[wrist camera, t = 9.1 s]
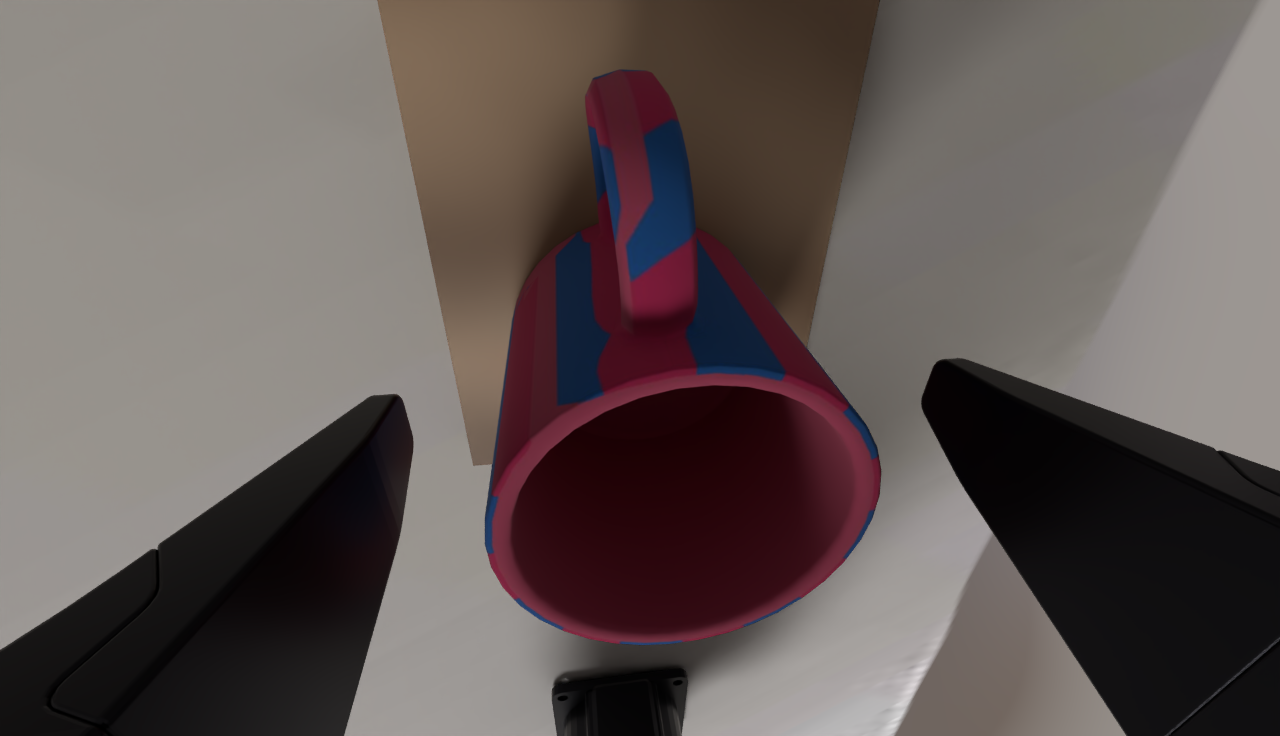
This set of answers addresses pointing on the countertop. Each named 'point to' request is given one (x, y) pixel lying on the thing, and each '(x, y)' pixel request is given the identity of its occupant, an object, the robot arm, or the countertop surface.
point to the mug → (664, 416)
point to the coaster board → (561, 152)
